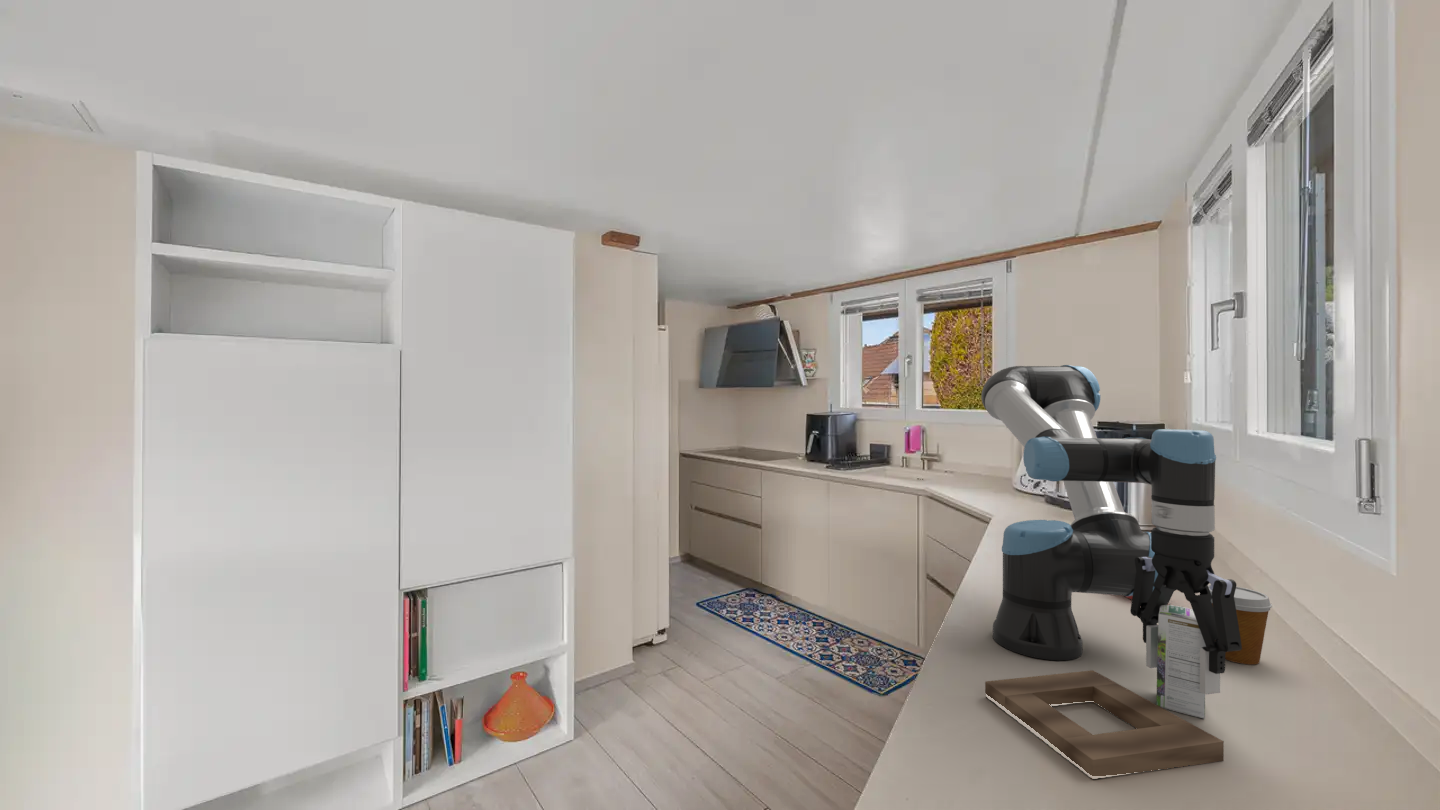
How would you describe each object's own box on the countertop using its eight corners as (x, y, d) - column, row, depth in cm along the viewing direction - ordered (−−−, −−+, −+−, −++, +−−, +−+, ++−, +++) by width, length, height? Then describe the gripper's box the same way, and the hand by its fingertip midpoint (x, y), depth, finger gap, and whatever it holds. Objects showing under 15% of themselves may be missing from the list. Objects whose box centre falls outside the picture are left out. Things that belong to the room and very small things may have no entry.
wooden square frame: (985, 697, 89) (985, 681, 89) (1092, 685, 93) (1092, 670, 93) (1092, 780, 69) (1092, 759, 69) (1223, 760, 73) (1223, 741, 73)
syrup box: (1157, 692, 90) (1157, 602, 91) (1206, 705, 87) (1206, 610, 87) (1156, 707, 86) (1156, 612, 86) (1207, 720, 82) (1207, 621, 82)
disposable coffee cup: (1286, 671, 98) (1287, 602, 98) (1223, 666, 100) (1223, 598, 100) (1247, 648, 107) (1247, 585, 107) (1190, 644, 109) (1190, 582, 109)
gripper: (1103, 517, 96) (1102, 652, 96) (1235, 547, 76) (1235, 717, 76) (1140, 516, 97) (1139, 648, 97) (1279, 545, 77) (1278, 711, 77)
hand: (1181, 678), depth 86 cm, fingers closed on syrup box, 8 cm apart
